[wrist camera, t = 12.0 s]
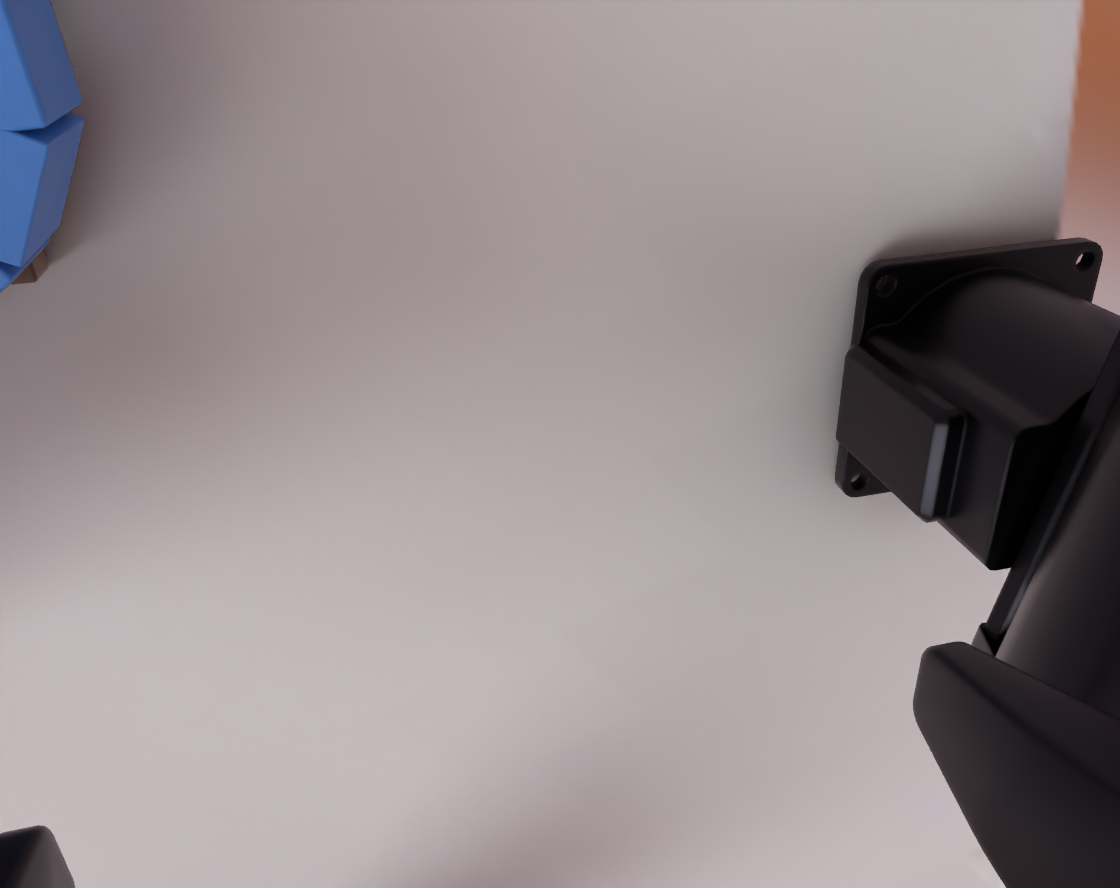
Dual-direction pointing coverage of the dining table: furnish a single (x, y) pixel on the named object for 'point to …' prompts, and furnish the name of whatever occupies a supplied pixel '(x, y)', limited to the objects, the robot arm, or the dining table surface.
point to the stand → (33, 270)
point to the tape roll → (33, 131)
